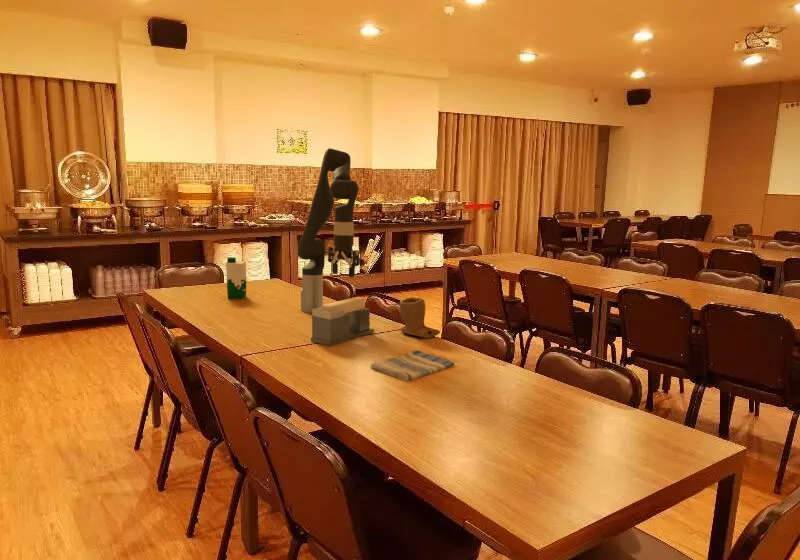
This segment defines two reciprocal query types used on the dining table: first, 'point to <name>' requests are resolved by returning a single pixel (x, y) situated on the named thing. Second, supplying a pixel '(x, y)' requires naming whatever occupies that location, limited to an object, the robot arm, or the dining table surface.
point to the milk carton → (236, 278)
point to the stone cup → (415, 318)
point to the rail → (345, 305)
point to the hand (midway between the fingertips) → (343, 275)
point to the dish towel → (412, 365)
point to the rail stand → (339, 325)
